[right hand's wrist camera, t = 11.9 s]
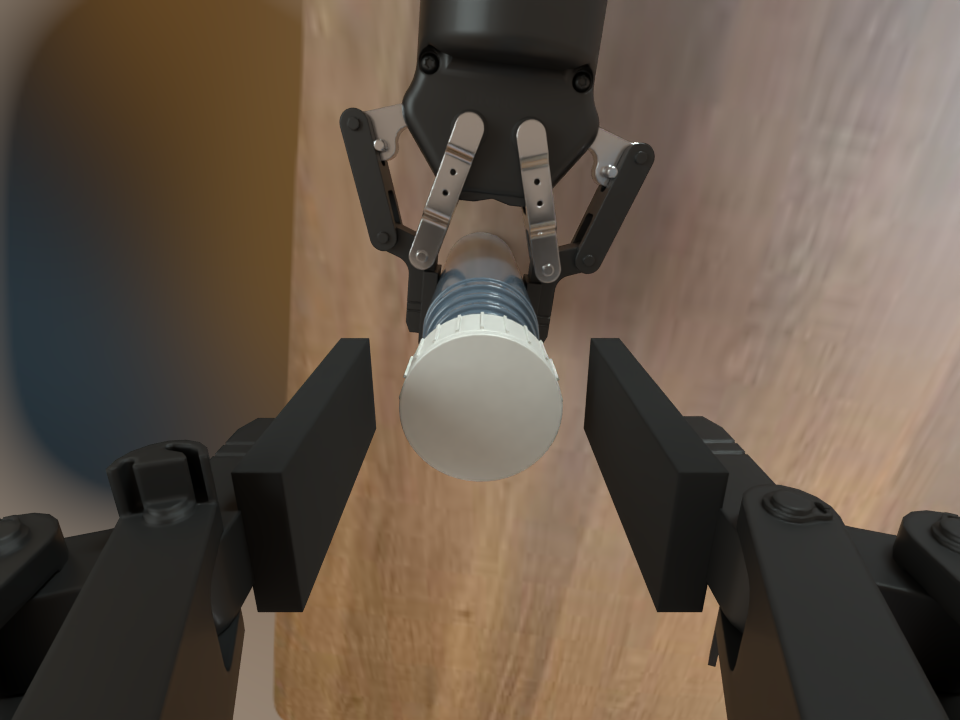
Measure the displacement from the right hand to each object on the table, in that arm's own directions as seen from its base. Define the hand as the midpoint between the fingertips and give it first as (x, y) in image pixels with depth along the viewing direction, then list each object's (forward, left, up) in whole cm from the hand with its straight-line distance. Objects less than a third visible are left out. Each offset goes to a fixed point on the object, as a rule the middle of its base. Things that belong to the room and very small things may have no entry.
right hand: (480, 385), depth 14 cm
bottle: (0, 0, -18) cm, 18 cm away
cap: (0, 0, +1) cm, 1 cm away
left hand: (-3, 0, -12) cm, 12 cm away
